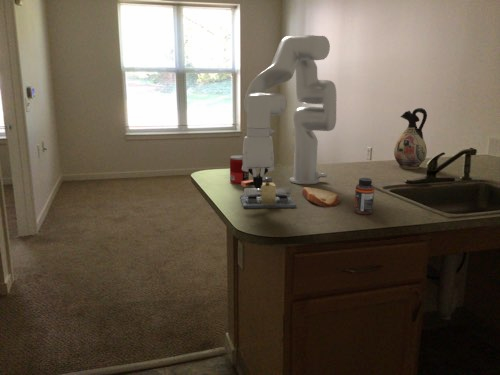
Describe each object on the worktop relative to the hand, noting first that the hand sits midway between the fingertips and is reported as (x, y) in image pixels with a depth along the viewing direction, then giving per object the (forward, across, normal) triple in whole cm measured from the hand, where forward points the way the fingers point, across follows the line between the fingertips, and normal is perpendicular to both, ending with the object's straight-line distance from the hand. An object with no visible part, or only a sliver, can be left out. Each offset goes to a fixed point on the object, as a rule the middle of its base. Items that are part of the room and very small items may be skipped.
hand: (257, 187), depth 148 cm
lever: (0, 0, -4) cm, 4 cm away
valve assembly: (+7, -4, -7) cm, 11 cm away
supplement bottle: (+8, -34, +7) cm, 36 cm away
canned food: (+8, +2, -39) cm, 40 cm away
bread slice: (+8, -24, -11) cm, 27 cm away
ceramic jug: (+8, -87, -66) cm, 110 cm away
